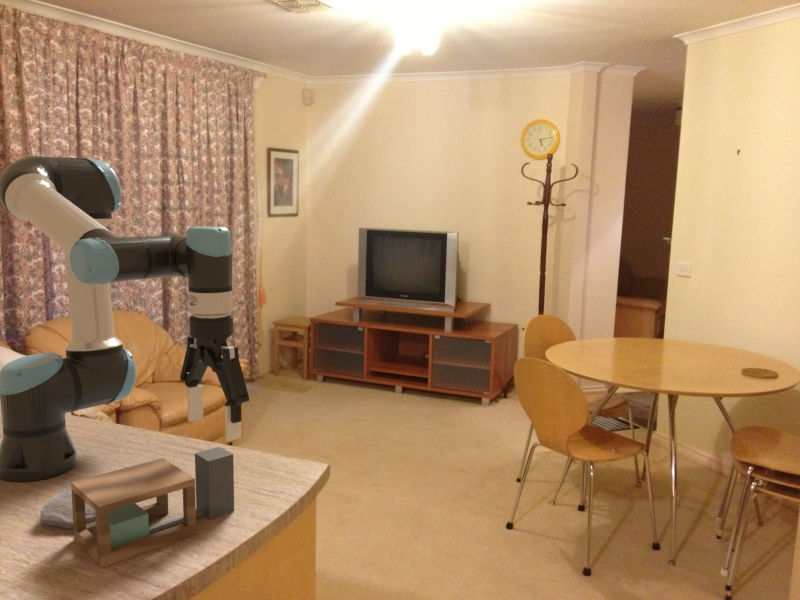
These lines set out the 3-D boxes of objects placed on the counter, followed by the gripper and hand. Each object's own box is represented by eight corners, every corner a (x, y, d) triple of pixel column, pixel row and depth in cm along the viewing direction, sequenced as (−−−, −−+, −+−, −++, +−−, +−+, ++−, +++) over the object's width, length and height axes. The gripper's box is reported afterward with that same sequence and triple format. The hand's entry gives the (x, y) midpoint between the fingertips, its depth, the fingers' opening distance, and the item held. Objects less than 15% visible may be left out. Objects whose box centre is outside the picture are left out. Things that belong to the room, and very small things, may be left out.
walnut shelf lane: (74, 539, 116) (71, 482, 115) (164, 510, 127) (162, 457, 126) (102, 568, 108) (98, 506, 106) (196, 534, 119) (194, 478, 117)
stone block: (104, 540, 120) (123, 503, 129) (99, 517, 118) (120, 482, 128) (35, 541, 120) (60, 505, 129) (29, 519, 118) (55, 483, 127)
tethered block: (99, 540, 116) (96, 478, 114) (219, 500, 132) (218, 445, 130) (113, 554, 112) (110, 490, 110) (235, 511, 127) (234, 455, 126)
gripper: (159, 307, 128) (163, 416, 131) (228, 327, 110) (231, 453, 114) (196, 303, 133) (199, 408, 137) (268, 322, 116) (270, 442, 119)
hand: (214, 429), depth 125 cm, fingers open, 13 cm apart
